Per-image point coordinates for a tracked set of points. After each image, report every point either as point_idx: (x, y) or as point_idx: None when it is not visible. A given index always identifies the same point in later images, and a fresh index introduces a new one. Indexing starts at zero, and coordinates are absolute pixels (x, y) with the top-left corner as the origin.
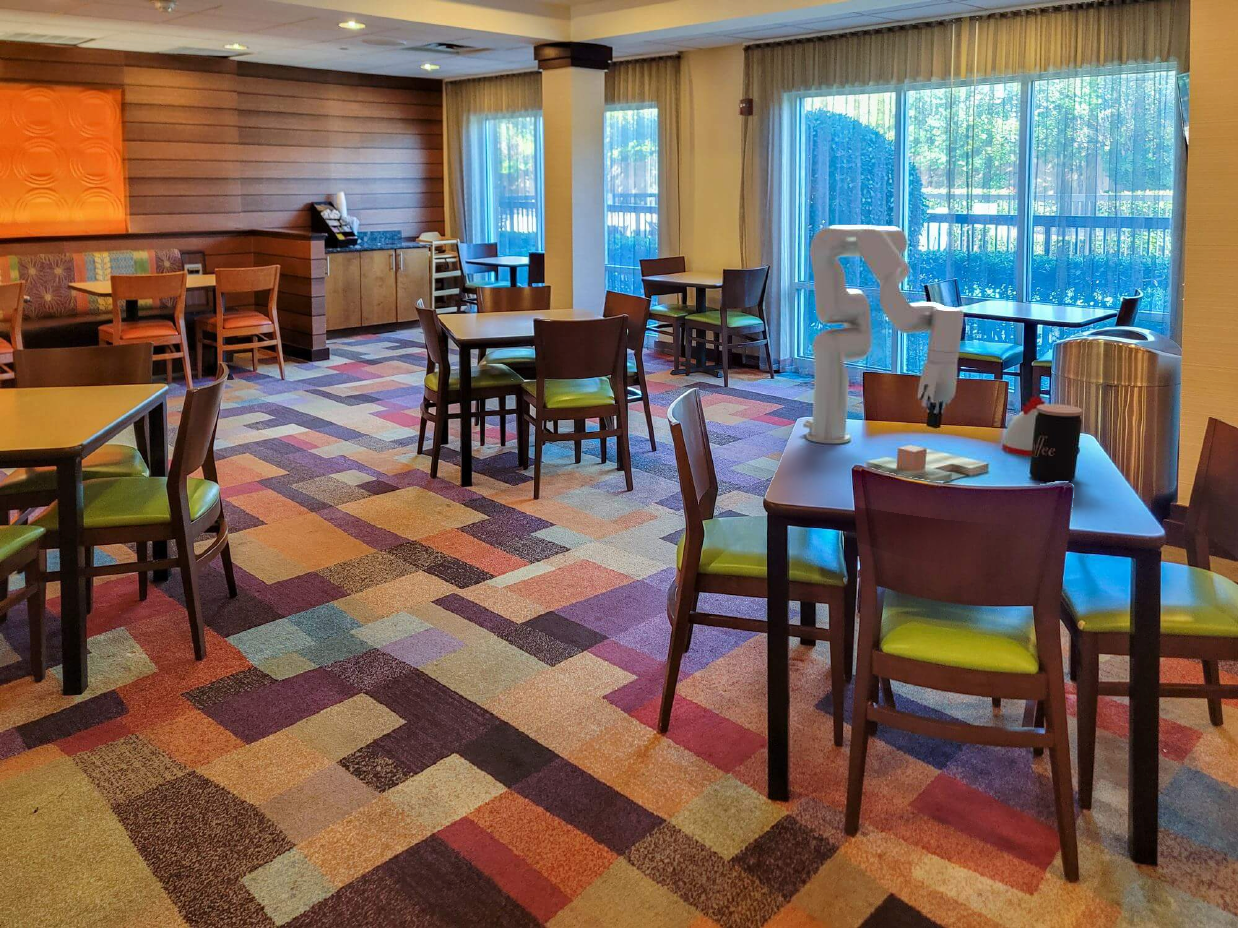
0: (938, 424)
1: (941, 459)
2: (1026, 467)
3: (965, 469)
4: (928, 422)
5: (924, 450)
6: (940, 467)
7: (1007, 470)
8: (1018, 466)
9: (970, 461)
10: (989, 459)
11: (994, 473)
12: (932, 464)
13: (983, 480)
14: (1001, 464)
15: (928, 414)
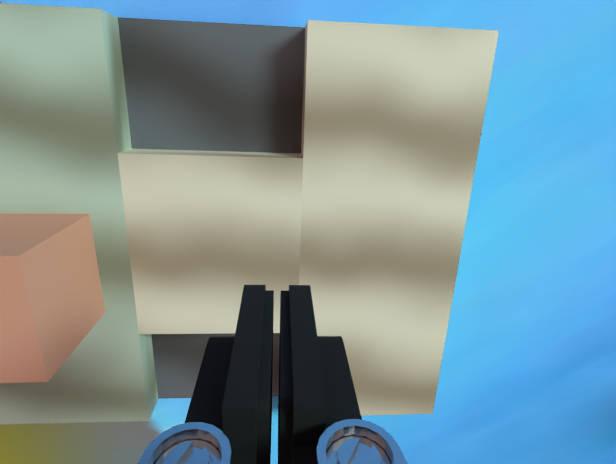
0: (278, 403)
1: (328, 260)
2: (571, 434)
3: None
4: (210, 345)
5: (25, 378)
6: (203, 330)
7: (480, 421)
8: (568, 413)
9: (402, 357)
10: (611, 295)
11: (401, 420)
12: (199, 291)
13: (274, 449)
14: (557, 365)
15: (229, 378)
